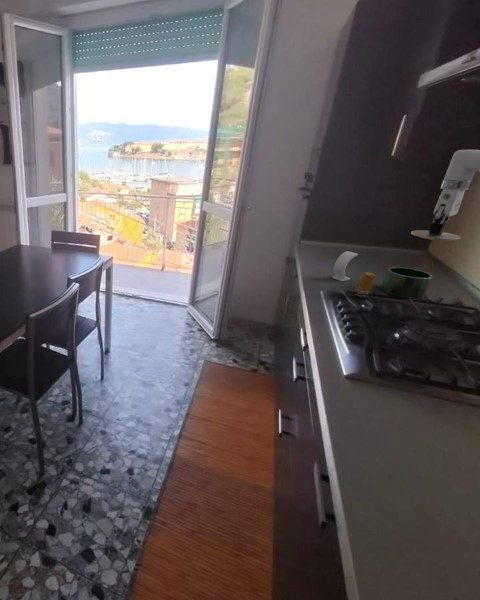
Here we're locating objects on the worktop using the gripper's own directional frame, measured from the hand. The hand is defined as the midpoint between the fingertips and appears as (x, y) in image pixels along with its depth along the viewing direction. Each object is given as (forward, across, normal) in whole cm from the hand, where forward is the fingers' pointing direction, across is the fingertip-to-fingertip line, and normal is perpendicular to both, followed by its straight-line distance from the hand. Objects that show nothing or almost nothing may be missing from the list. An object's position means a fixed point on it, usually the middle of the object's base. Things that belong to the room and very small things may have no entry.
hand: (436, 232), depth 142 cm
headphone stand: (+23, -17, +21) cm, 36 cm away
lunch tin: (+23, -12, 0) cm, 26 cm away
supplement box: (+23, -32, +7) cm, 40 cm away
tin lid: (+1, 0, 0) cm, 1 cm away
